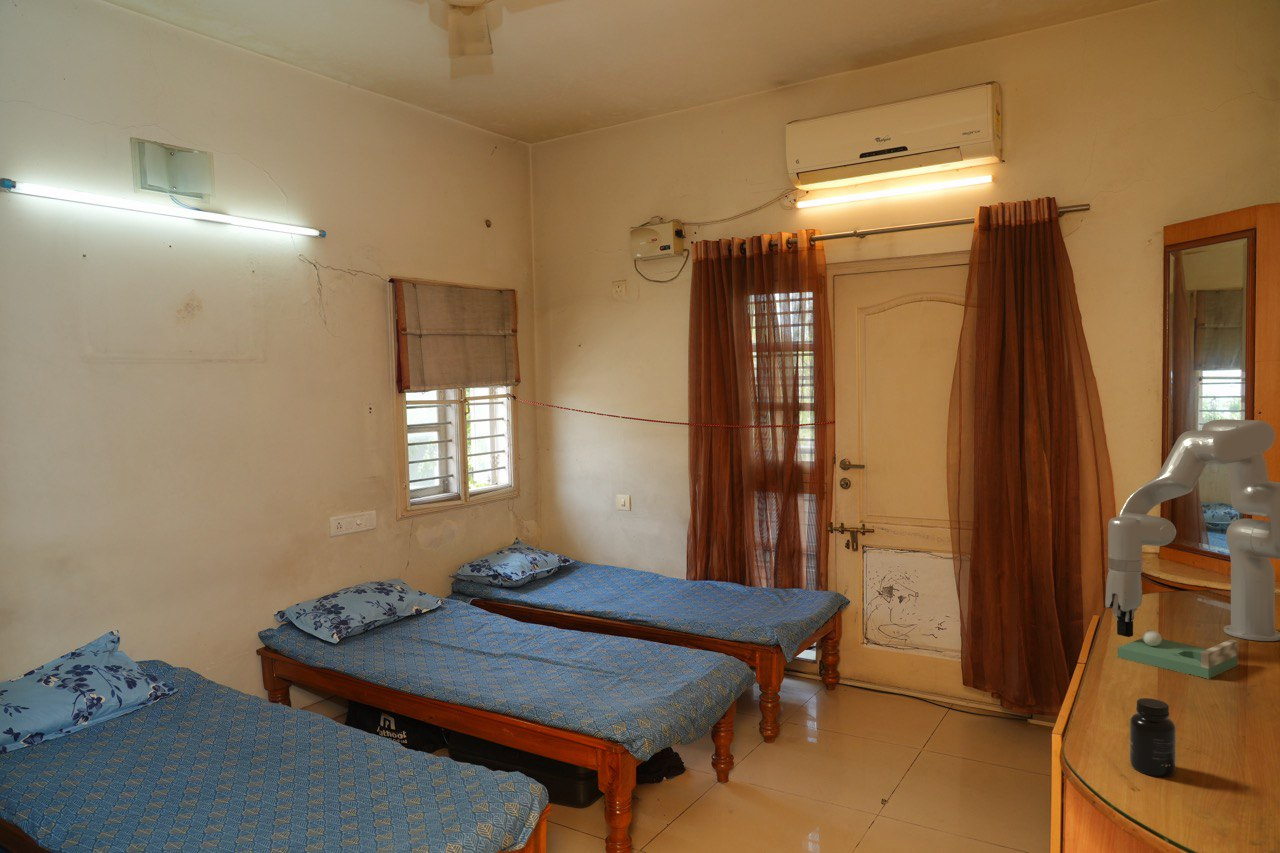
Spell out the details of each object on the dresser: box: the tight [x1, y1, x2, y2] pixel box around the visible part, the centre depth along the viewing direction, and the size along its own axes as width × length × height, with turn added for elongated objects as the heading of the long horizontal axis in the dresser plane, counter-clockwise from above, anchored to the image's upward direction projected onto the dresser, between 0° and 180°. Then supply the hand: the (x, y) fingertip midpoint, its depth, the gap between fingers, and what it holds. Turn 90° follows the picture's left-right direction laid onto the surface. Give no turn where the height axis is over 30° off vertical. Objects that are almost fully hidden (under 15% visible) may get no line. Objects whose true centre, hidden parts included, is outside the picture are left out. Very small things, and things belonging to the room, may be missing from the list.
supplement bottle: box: [1129, 697, 1177, 778], centre depth 142 cm, size 7×7×12 cm
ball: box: [1142, 629, 1163, 646], centre depth 203 cm, size 4×4×4 cm
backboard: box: [1201, 639, 1238, 669], centre depth 191 cm, size 16×2×4 cm, turn 124°
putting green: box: [1117, 637, 1238, 680], centre depth 199 cm, size 16×20×2 cm
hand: (1125, 635), depth 208 cm, fingers closed
